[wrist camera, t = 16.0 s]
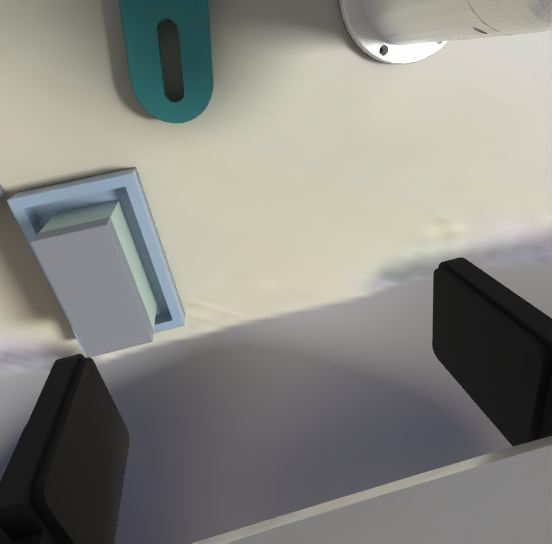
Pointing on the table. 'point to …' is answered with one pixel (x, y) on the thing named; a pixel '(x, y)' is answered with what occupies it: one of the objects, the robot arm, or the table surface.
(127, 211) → the tray
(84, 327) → the gray rectangular block
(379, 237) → the table surface
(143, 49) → the bracket
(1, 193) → the bay
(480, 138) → the table surface
